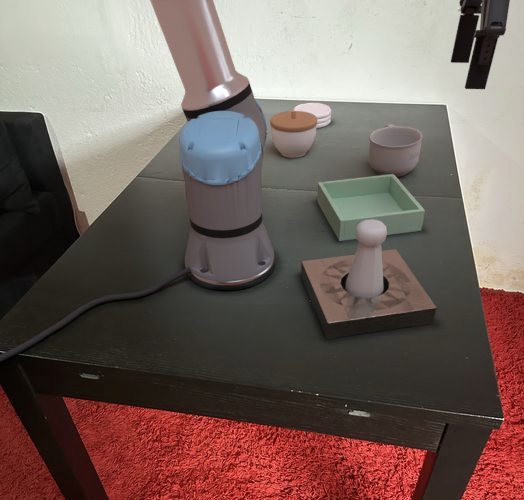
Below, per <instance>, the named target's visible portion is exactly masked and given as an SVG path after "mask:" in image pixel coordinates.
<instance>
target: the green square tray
mask: <svg viewBox="0 0 524 500" xmlns="http://www.w3.org/2000/svg"><path fill="white" fill-rule="evenodd" d="M316 202H317V204H318V206H319V207H320V209H321V212H322V213H323V215H324V216H325V218H326V220H327V222H328V223H329V226H330V227H331V229H332V231H333V233H334V234H335V236H336V238H337V240H338V241H339V242H345V241H351V240H352V241H353V240H357V239H356V228H357V225H358V224H359V223H360V222H362V221H364V220H369V219H374V220H378V221H381V222H382V223H383V224H384V225H385V226H386V229H387V236H391V235H398V234H406V233H408V234H409V233H414V232H421V231H422V230H423V229H422V228H423V223H424V217H425V213H426V209H424V208H423V206H422V205H421V204H420V203H419V201H418V200H417V199H416V198H415V196H413V195H412V194H411V192H410V191H409V190H408V188H406V186H405V185H404V184H403V183H402V182H401V180H400V179H399V177H396V176H395V175H394V174H389V175H381V174H379V175H372V176H371V175H370V176H363V177H355V178H354V177H353V178H345V179H337V180H336V179H335V180H328V181H320V182H319V181H318V182H317V200H316Z"/></svg>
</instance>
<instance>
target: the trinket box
mask: <svg viewBox="0 0 524 500" xmlns="http://www.w3.org/2000/svg"><path fill="white" fill-rule="evenodd" d="M269 124H270V134H271V135H270V136H271V140H272V144H273V145H274V147H275V149H276V150H277V151H278V152H279V153H280V155H281V156H283V157H285V158H290V159H293V158H301V157H303V156H305V155H306V154H307V152H309V150H310V149H311V148H312V147H313V145H314V143H315V141H316V136H317V129H318V128H317V117H316V116H315V115H313V114H311V113H308V112H303V111H293V110H287V111H281V112H278V113H276V114H274V115H272V116H271V117H270V119H269Z"/></svg>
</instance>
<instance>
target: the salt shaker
mask: <svg viewBox="0 0 524 500" xmlns="http://www.w3.org/2000/svg"><path fill="white" fill-rule="evenodd" d="M387 236H388V235H387V229H386V226H385V225H384V224H383V223H382V222H381V221H378V220H374V219H369V220H364V221H362V222H360V223H359V224H358V225H357V228H356V239H355V240H356V241H358V244H357V247H356V250H355V257H354V260H353V262H352V265H351V268H350V271H349V274H348V277H347V280H346V285H345V289H344V290H345V291H347V292H348V293H349V294H352V295H355V296H357V297H365V298H370V297H377V296H379V295H382V294H383V290H384V288H383V267H382V251H383V250H382V249H383V247H382V244H383V243H384V242H385V241H386V240H387Z"/></svg>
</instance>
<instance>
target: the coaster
mask: <svg viewBox="0 0 524 500" xmlns="http://www.w3.org/2000/svg"><path fill="white" fill-rule="evenodd" d="M292 111H303V112H308V113H311V114H313V115H315V116H316V117H317V128H316V129H322V128H324V127H326V126H329V124H330V123H331V121H332V109H331V107H330V106H329V105H327V104H325V103H322V102H321V103H320V102H304V103H301V104H298V105H296V106H295V107H293V109H292Z"/></svg>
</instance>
